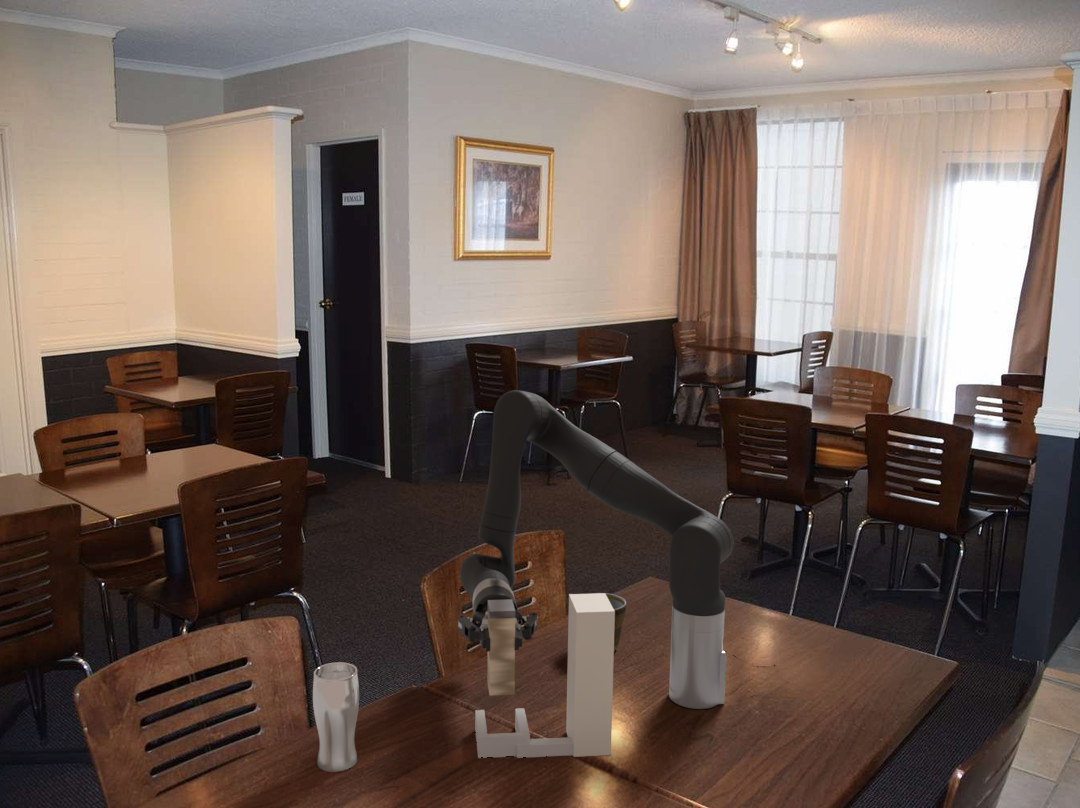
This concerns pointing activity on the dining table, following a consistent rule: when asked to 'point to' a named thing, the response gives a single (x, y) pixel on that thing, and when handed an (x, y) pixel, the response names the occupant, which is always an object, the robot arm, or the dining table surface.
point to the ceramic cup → (617, 615)
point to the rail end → (501, 647)
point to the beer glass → (336, 714)
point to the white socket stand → (571, 691)
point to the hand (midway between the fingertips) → (502, 644)
